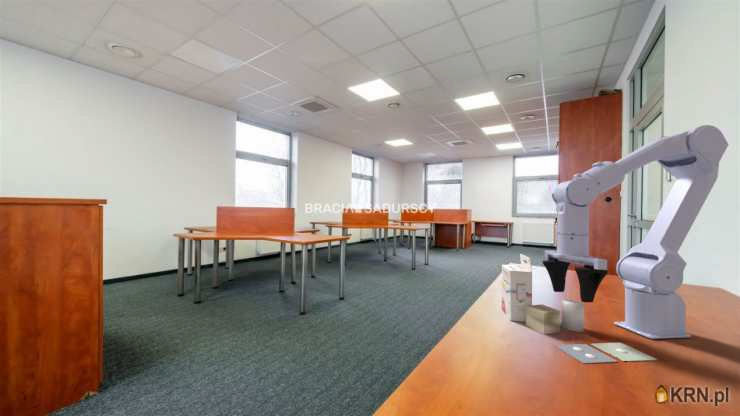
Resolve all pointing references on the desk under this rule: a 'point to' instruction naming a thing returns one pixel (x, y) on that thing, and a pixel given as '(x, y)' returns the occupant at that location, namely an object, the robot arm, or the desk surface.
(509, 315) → the ink cartridge box
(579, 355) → the pad two
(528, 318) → the birch block
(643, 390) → the desk surface
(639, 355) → the pad one
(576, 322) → the white capsule cylinder
